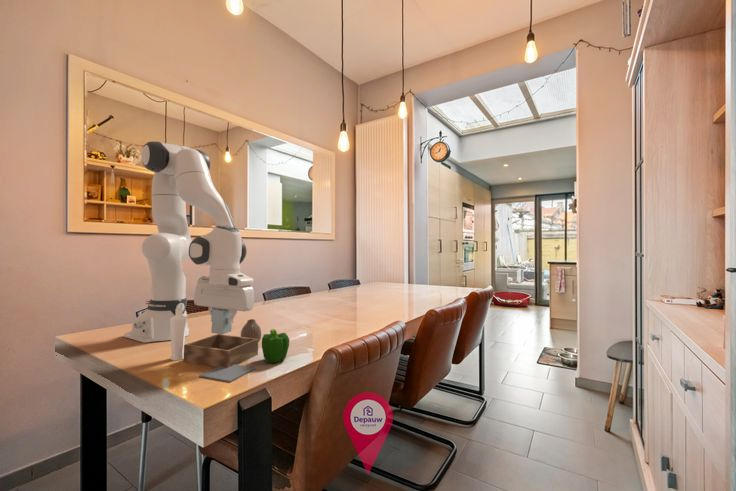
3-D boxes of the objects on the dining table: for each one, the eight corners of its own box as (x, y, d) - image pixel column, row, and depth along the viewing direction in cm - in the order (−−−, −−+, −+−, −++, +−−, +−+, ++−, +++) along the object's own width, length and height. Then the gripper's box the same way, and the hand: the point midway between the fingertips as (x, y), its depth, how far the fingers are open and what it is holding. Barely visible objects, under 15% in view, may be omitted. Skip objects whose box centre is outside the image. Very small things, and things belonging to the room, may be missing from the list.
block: (211, 332, 99) (212, 309, 99) (220, 329, 103) (222, 307, 103) (222, 334, 98) (223, 311, 98) (231, 331, 102) (232, 309, 102)
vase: (264, 342, 118) (264, 318, 118) (255, 348, 111) (256, 322, 111) (246, 341, 119) (246, 317, 119) (236, 347, 112) (237, 321, 112)
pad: (199, 376, 86) (199, 375, 86) (226, 364, 95) (226, 363, 95) (230, 382, 83) (230, 380, 83) (255, 368, 92) (255, 367, 92)
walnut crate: (183, 361, 96) (184, 344, 96) (217, 348, 109) (217, 333, 109) (227, 369, 92) (228, 351, 92) (257, 354, 104) (258, 338, 105)
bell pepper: (276, 354, 105) (276, 323, 105) (294, 359, 101) (294, 327, 101) (254, 361, 98) (255, 328, 98) (272, 367, 94) (273, 332, 94)
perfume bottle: (189, 357, 100) (191, 309, 100) (174, 361, 96) (176, 311, 96) (181, 354, 102) (183, 307, 103) (166, 358, 99) (168, 309, 99)
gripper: (190, 276, 101) (187, 320, 101) (245, 281, 95) (242, 328, 95) (205, 275, 107) (203, 317, 107) (258, 279, 101) (255, 324, 101)
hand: (222, 322), depth 101 cm, fingers closed on block, 4 cm apart
